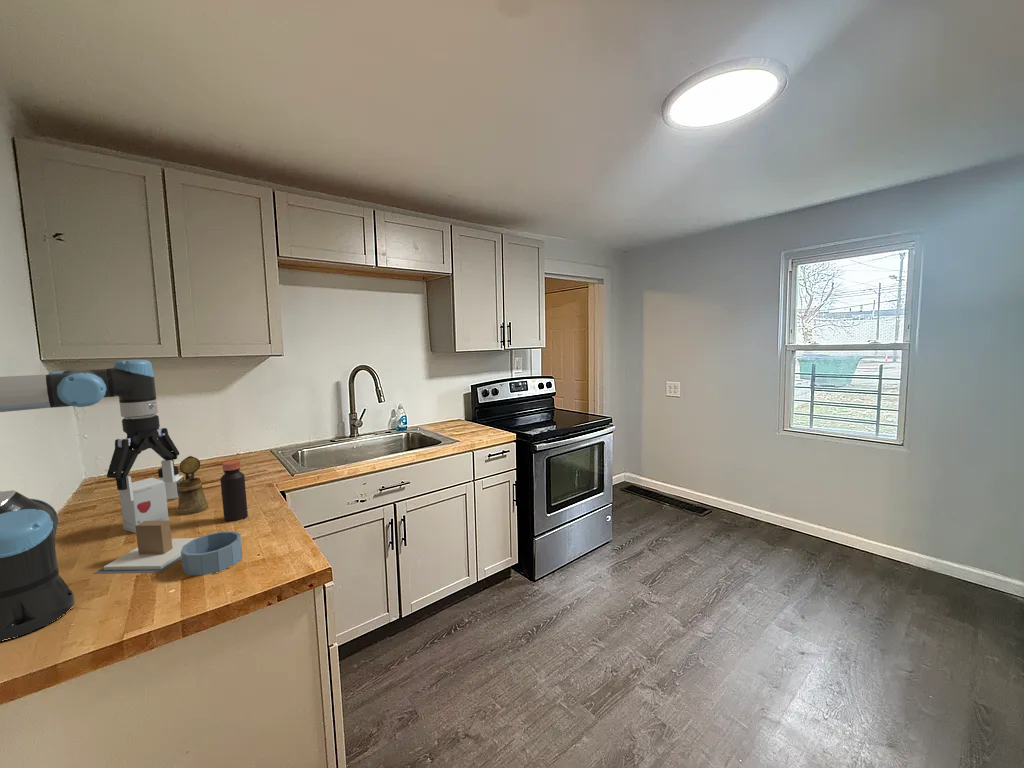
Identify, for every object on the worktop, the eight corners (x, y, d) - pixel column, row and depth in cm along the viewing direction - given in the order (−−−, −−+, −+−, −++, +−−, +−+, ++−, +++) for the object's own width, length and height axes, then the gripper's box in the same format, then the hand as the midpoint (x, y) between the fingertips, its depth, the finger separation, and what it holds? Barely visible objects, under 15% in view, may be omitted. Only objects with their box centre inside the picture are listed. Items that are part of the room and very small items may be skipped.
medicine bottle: (178, 498, 158) (175, 468, 157) (155, 501, 156) (152, 470, 154) (185, 492, 165) (182, 463, 164) (163, 494, 162) (160, 465, 161)
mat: (162, 574, 108) (162, 572, 107) (92, 575, 107) (92, 573, 107) (211, 540, 125) (210, 538, 125) (151, 541, 125) (151, 539, 125)
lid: (161, 569, 109) (157, 535, 108) (103, 570, 109) (99, 536, 108) (202, 541, 124) (199, 511, 123) (152, 542, 124) (148, 512, 122)
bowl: (221, 576, 106) (219, 554, 106) (171, 577, 106) (168, 555, 105) (252, 550, 119) (250, 530, 119) (207, 551, 119) (205, 531, 118)
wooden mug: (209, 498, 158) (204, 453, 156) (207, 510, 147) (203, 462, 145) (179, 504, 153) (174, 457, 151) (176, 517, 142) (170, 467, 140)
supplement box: (136, 535, 129) (130, 490, 127) (122, 529, 133) (117, 485, 131) (170, 523, 137) (165, 480, 135) (156, 518, 141) (152, 476, 139)
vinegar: (236, 523, 136) (230, 466, 134) (219, 522, 138) (213, 464, 135) (252, 515, 143) (248, 459, 141) (236, 513, 144) (231, 458, 142)
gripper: (110, 426, 99) (121, 509, 102) (189, 407, 124) (196, 475, 127) (79, 426, 99) (91, 509, 102) (164, 408, 124) (172, 475, 126)
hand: (149, 490), depth 114 cm, fingers open, 13 cm apart
